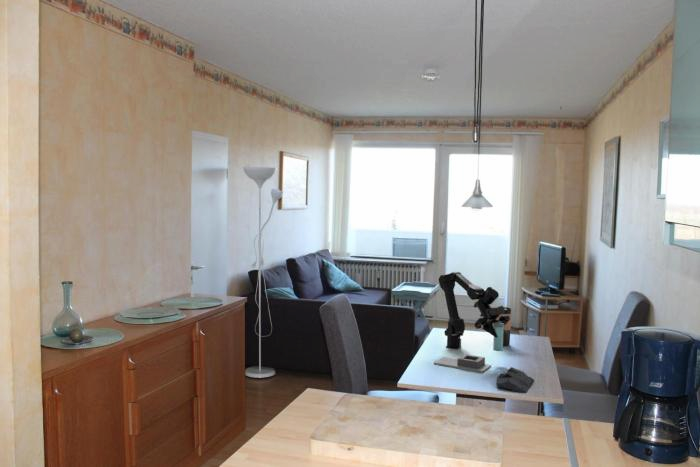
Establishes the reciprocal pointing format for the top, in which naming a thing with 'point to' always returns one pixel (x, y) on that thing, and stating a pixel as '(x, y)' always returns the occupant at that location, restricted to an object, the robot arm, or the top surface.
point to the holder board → (454, 364)
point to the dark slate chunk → (515, 381)
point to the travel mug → (506, 326)
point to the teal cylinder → (498, 336)
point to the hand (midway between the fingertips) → (500, 336)
